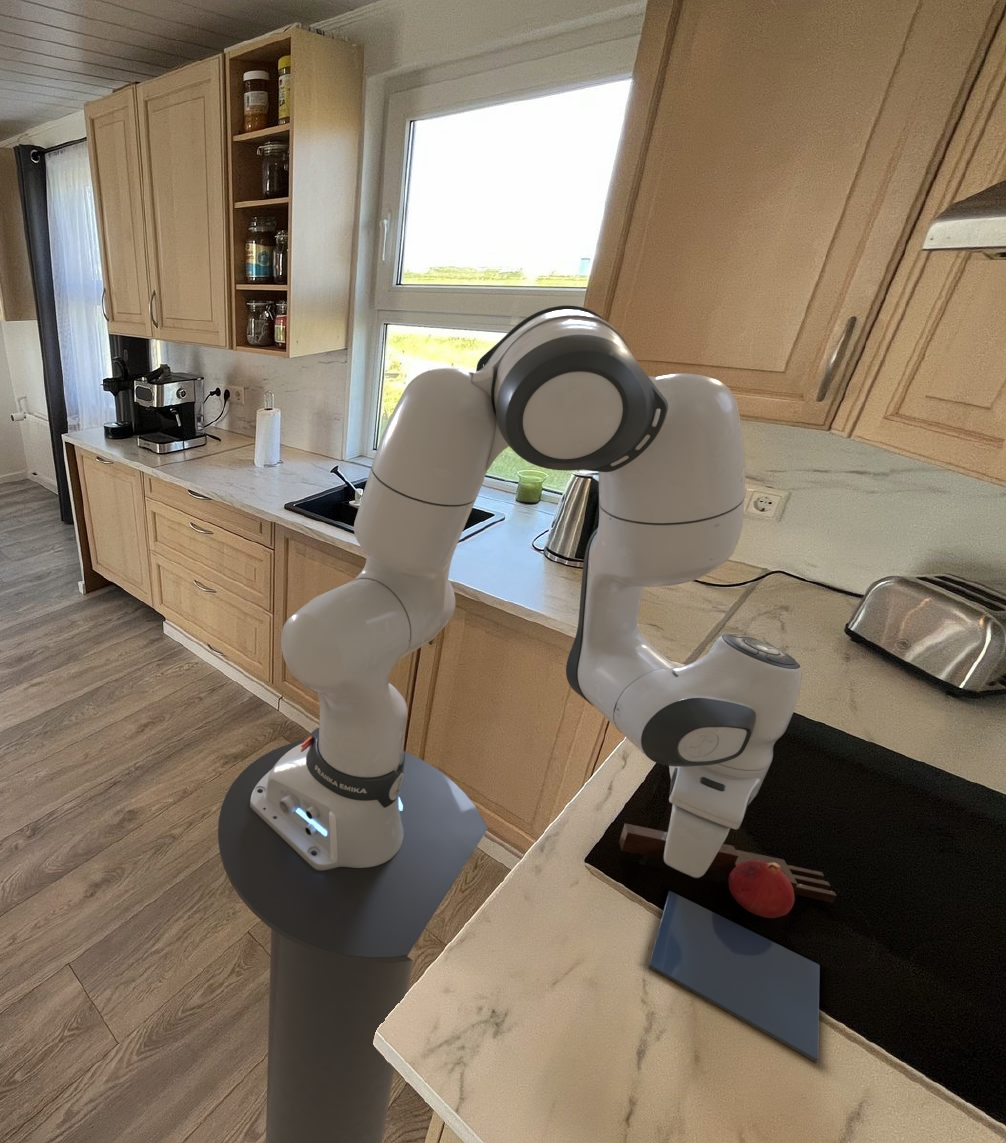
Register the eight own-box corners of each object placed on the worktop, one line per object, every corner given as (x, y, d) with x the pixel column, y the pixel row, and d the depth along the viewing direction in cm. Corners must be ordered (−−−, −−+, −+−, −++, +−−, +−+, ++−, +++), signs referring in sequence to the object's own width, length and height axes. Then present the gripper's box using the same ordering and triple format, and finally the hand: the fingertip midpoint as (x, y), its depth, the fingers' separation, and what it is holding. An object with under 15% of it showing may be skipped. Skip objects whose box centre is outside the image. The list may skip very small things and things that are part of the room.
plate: (648, 967, 67) (649, 964, 67) (668, 893, 75) (669, 890, 75) (816, 1062, 59) (818, 1059, 59) (818, 967, 67) (819, 964, 67)
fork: (623, 856, 79) (629, 838, 78) (617, 835, 82) (623, 817, 81) (833, 903, 73) (843, 884, 71) (818, 878, 76) (827, 859, 75)
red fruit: (722, 918, 72) (745, 872, 69) (717, 880, 77) (739, 834, 73) (784, 942, 70) (812, 895, 66) (776, 901, 74) (802, 855, 71)
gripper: (694, 710, 81) (665, 790, 87) (669, 800, 67) (636, 888, 73) (754, 730, 78) (720, 812, 83) (741, 829, 63) (700, 920, 69)
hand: (681, 848), depth 78 cm, fingers closed on fork, 2 cm apart
